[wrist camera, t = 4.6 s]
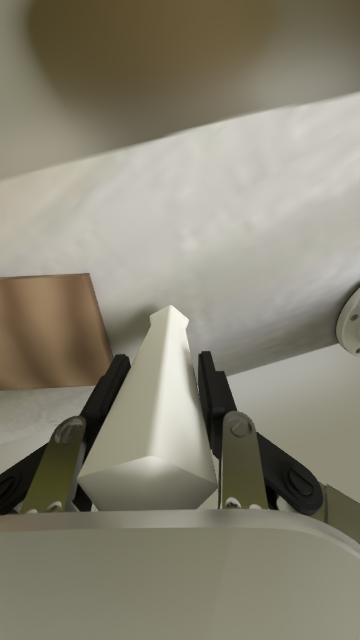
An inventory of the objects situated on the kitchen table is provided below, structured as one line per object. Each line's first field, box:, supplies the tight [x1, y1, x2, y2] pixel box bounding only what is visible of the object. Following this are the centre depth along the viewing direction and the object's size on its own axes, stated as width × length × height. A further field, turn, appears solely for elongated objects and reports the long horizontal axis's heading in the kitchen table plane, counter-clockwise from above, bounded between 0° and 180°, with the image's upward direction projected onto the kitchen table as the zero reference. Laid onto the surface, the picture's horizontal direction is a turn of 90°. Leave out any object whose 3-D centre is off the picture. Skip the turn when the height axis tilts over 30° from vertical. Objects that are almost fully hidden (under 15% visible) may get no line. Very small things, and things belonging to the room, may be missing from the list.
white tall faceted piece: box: [76, 305, 218, 511], centre depth 10 cm, size 5×4×15 cm
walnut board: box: [0, 273, 113, 391], centre depth 19 cm, size 16×14×2 cm
